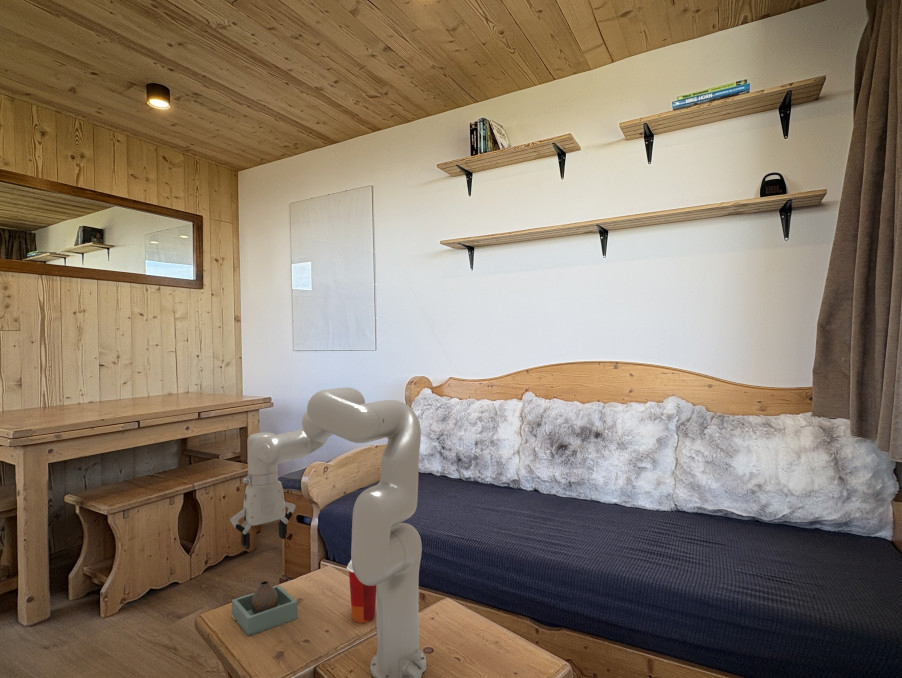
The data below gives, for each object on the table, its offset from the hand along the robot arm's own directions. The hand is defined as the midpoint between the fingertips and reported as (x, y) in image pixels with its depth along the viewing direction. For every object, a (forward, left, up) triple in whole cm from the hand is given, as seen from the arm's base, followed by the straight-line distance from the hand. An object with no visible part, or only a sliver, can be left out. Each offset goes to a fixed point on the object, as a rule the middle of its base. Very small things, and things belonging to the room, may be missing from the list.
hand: (264, 542), depth 137 cm
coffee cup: (-18, -20, -20) cm, 33 cm away
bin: (0, 0, -20) cm, 20 cm away
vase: (0, 0, -20) cm, 20 cm away
